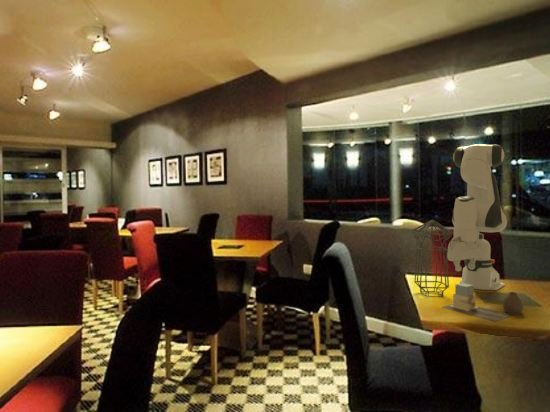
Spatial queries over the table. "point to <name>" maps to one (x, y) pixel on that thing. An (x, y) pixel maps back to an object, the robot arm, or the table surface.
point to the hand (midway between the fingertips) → (465, 269)
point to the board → (480, 312)
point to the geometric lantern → (442, 228)
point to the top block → (464, 289)
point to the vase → (513, 304)
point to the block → (464, 301)
